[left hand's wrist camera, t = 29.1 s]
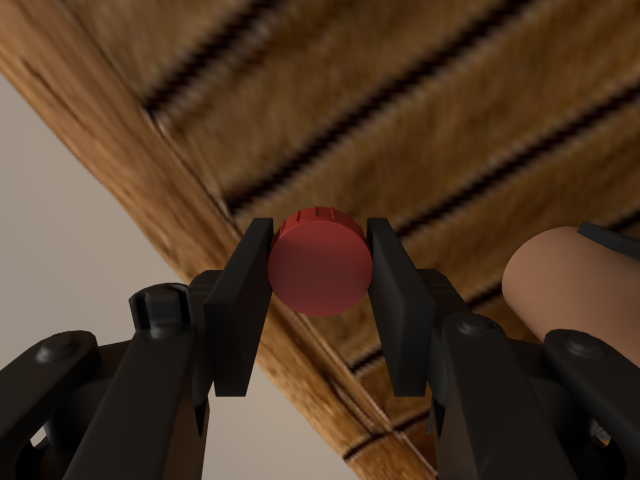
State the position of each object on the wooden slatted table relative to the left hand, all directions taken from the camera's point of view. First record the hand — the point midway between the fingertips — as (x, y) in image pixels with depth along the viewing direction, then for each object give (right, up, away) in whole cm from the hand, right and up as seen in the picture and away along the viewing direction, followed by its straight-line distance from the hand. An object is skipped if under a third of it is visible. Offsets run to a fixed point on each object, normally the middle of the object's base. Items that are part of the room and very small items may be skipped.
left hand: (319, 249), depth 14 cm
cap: (0, -1, -1) cm, 2 cm away
